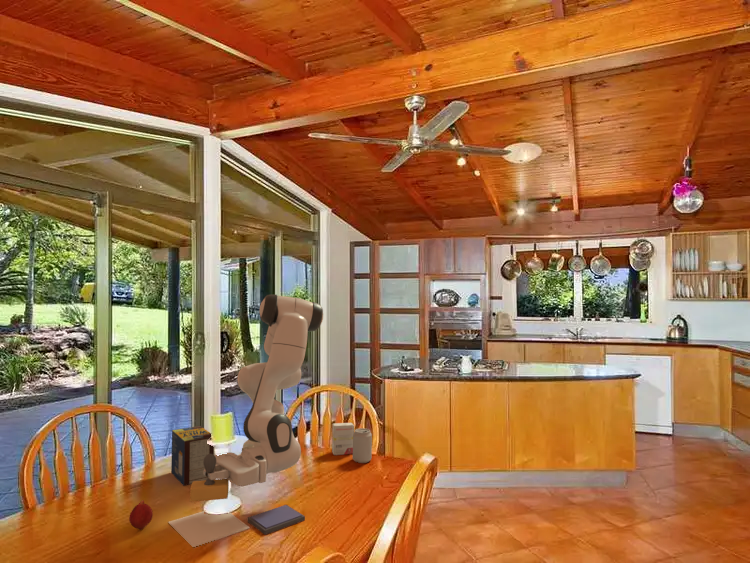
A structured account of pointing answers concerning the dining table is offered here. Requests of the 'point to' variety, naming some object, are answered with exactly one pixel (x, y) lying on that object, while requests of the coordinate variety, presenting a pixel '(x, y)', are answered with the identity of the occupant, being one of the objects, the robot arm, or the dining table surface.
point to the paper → (207, 527)
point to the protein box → (190, 454)
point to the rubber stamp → (209, 484)
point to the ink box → (342, 438)
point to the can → (362, 445)
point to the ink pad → (276, 519)
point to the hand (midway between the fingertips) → (206, 474)
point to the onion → (141, 515)
